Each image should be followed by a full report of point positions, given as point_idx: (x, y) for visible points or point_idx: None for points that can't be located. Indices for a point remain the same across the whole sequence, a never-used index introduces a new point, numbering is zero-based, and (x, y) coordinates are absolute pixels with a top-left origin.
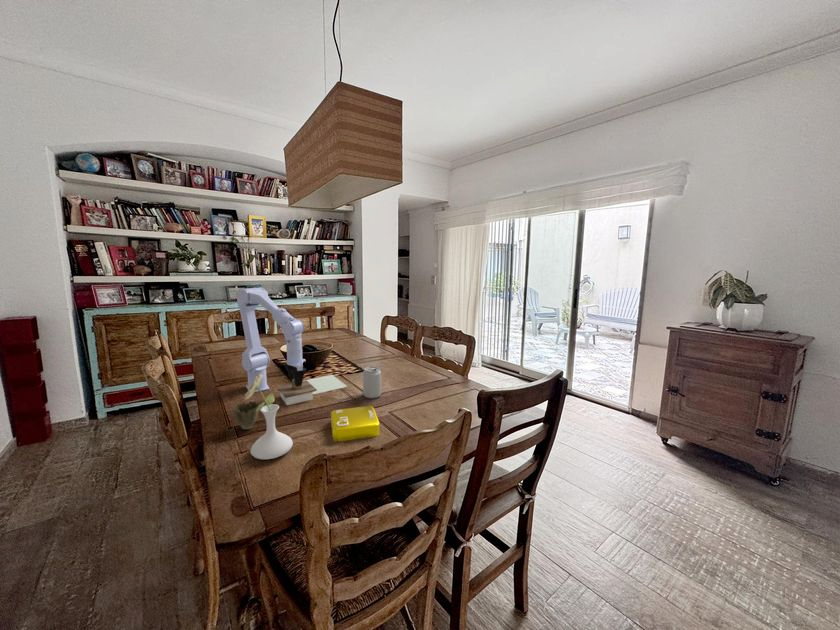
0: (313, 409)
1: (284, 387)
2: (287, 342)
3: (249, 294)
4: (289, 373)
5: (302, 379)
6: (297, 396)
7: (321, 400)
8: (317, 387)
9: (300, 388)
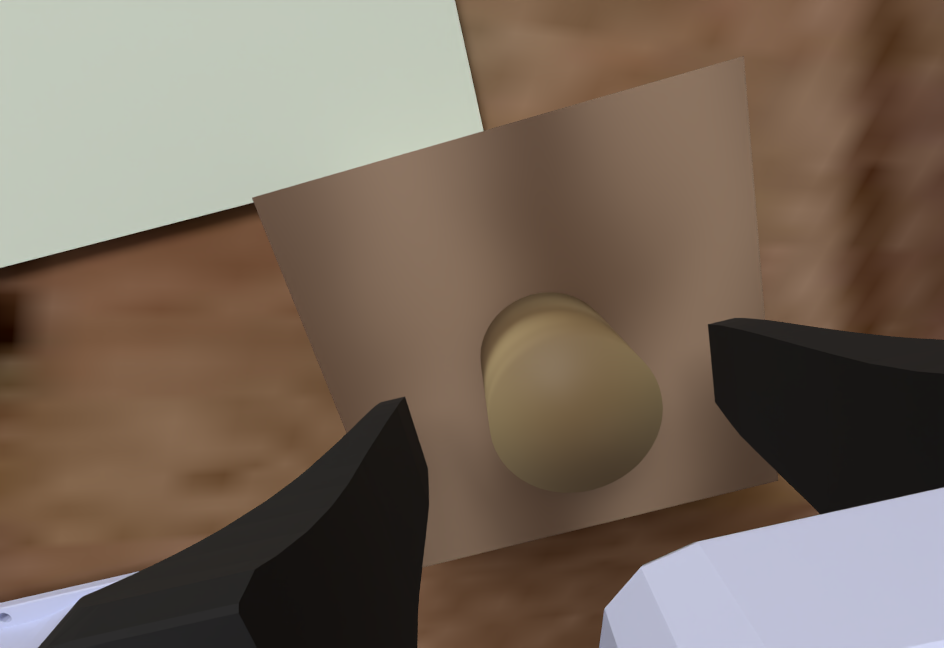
0: (888, 149)
1: (463, 498)
2: None
3: None
4: (416, 592)
5: (844, 338)
6: None
7: (691, 25)
8: (246, 33)
9: (591, 307)
